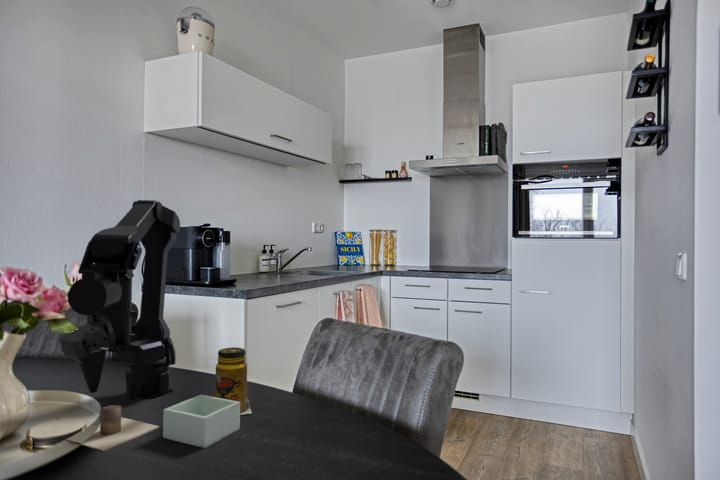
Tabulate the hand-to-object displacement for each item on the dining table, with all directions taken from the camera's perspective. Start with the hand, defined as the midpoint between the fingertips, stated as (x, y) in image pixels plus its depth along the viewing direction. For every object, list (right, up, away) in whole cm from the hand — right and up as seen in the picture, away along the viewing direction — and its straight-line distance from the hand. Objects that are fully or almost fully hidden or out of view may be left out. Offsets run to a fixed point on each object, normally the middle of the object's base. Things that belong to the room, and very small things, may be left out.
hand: (111, 396), depth 85 cm
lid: (0, -7, 0) cm, 7 cm away
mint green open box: (+16, -7, 0) cm, 17 cm away
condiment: (+17, -7, +13) cm, 23 cm away
